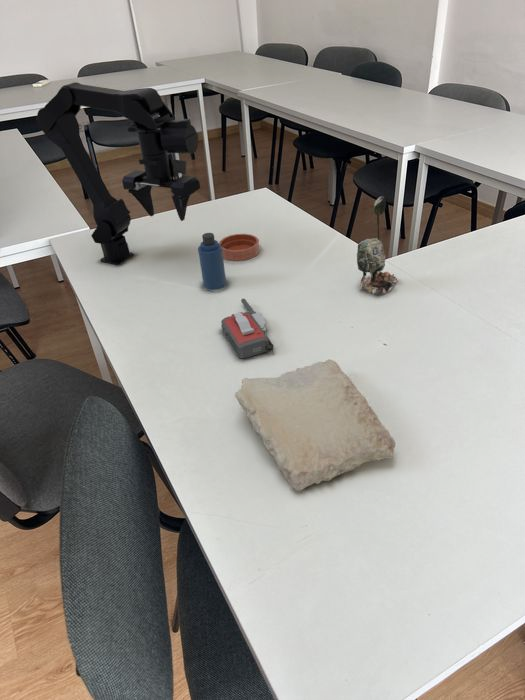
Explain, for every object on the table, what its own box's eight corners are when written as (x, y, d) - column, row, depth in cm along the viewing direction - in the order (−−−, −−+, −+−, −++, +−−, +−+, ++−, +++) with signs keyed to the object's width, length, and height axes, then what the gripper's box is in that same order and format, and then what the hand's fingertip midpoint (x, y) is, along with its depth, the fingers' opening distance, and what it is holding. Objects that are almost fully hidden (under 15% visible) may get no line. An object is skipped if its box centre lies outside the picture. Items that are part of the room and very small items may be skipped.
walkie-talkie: (283, 351, 102) (247, 303, 118) (282, 332, 100) (246, 286, 115) (241, 364, 100) (210, 313, 115) (239, 345, 98) (207, 296, 113)
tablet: (273, 505, 75) (401, 459, 77) (264, 470, 70) (400, 422, 73) (233, 401, 94) (337, 367, 97) (224, 369, 90) (333, 334, 92)
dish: (218, 263, 134) (216, 252, 132) (222, 245, 143) (221, 234, 141) (258, 261, 134) (257, 250, 132) (260, 243, 142) (259, 232, 140)
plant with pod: (344, 287, 120) (346, 203, 108) (382, 272, 125) (388, 189, 113) (367, 302, 115) (372, 214, 103) (406, 285, 119) (415, 200, 107)
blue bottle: (200, 284, 126) (191, 234, 118) (219, 277, 128) (213, 227, 120) (210, 293, 122) (202, 242, 115) (230, 286, 124) (224, 235, 117)
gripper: (208, 144, 119) (217, 210, 129) (144, 139, 127) (157, 202, 136) (179, 158, 112) (191, 227, 121) (113, 153, 120) (129, 218, 129)
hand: (167, 218), depth 127 cm, fingers open, 9 cm apart
